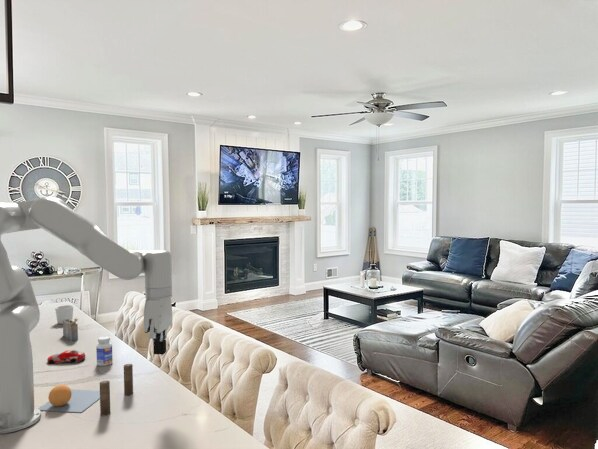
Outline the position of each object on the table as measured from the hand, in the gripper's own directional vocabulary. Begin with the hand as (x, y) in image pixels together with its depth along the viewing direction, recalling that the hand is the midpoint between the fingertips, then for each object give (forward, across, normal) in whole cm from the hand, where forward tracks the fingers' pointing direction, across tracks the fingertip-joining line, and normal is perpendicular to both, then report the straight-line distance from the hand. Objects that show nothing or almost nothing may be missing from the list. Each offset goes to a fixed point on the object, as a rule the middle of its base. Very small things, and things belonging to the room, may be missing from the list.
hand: (159, 353), depth 129 cm
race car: (+16, -30, -51) cm, 61 cm away
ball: (+12, +5, -29) cm, 32 cm away
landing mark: (+15, +1, -27) cm, 31 cm away
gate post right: (+15, -5, -13) cm, 21 cm away
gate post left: (+15, +8, -13) cm, 21 cm away
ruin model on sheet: (+16, -57, -68) cm, 90 cm away
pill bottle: (+15, -29, -35) cm, 48 cm away
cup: (+15, -81, -87) cm, 120 cm away
